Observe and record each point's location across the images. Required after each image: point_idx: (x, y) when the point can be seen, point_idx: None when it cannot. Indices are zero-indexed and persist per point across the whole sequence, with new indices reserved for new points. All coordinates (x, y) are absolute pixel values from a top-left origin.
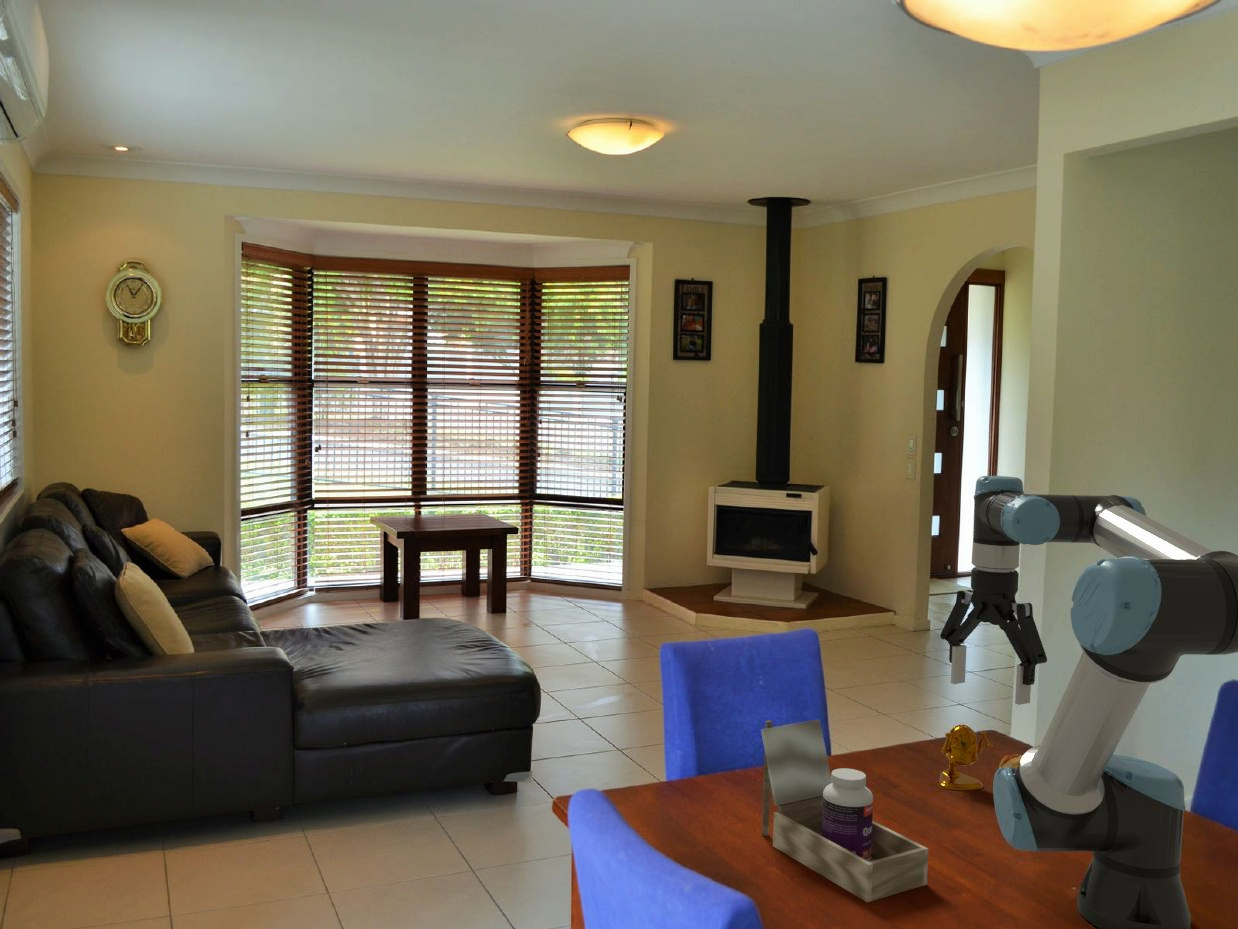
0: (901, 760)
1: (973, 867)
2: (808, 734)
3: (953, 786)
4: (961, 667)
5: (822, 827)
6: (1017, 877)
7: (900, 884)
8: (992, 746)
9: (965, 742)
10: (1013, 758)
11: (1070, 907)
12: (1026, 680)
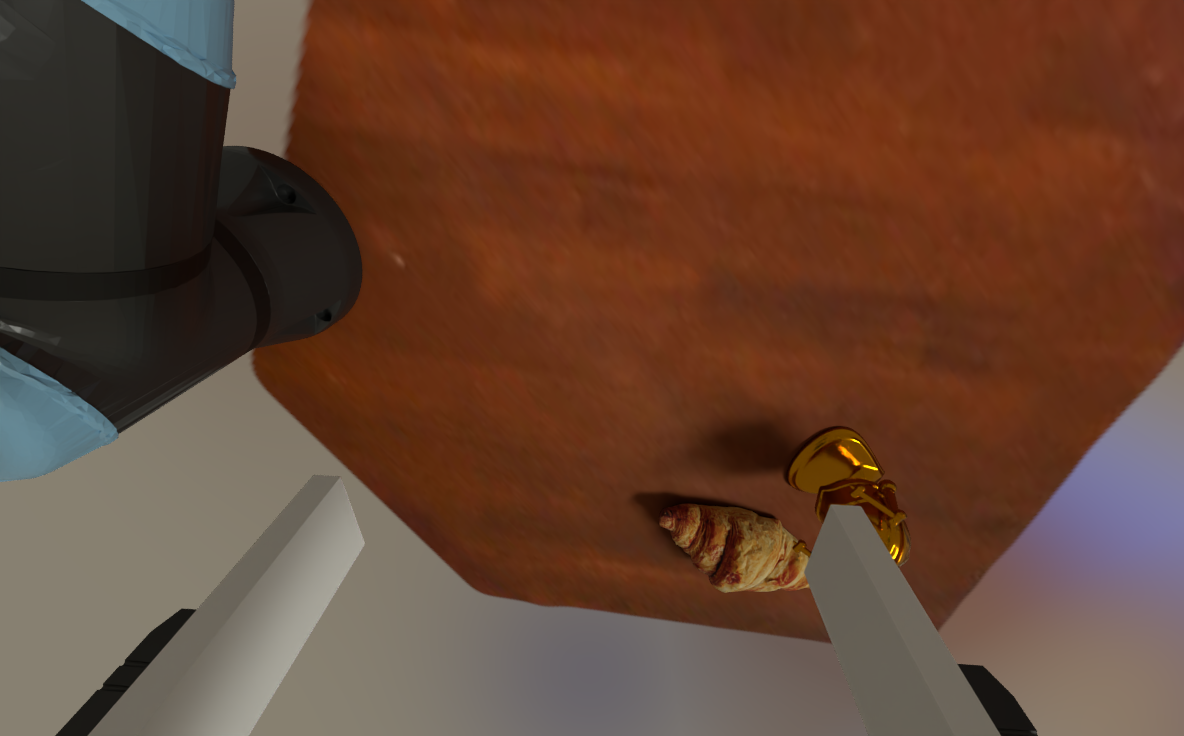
0: (990, 469)
1: (545, 152)
2: None
3: (825, 438)
4: (860, 656)
5: None
6: (471, 200)
7: None
8: (793, 547)
9: None
10: (782, 572)
11: (331, 179)
12: (163, 647)
